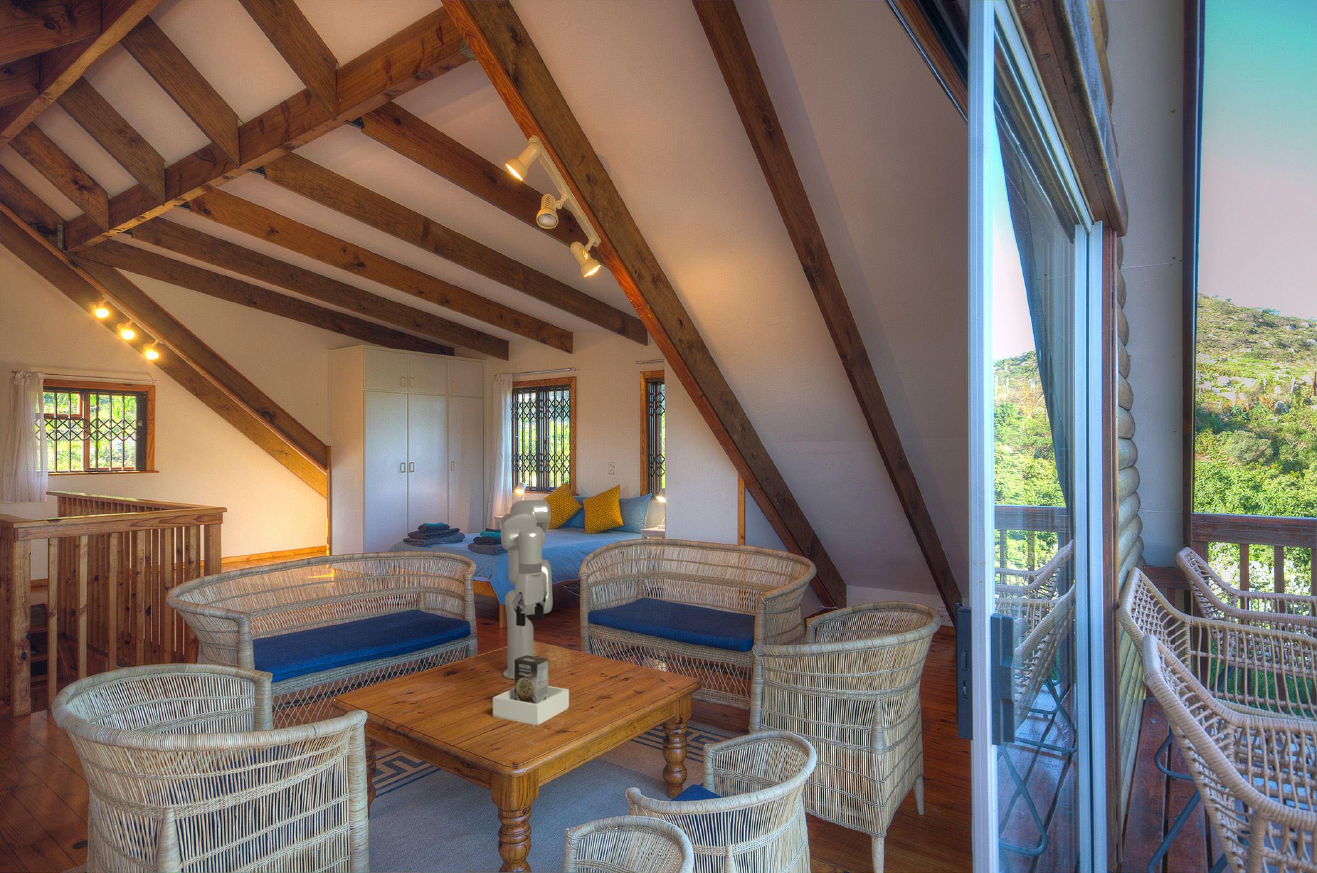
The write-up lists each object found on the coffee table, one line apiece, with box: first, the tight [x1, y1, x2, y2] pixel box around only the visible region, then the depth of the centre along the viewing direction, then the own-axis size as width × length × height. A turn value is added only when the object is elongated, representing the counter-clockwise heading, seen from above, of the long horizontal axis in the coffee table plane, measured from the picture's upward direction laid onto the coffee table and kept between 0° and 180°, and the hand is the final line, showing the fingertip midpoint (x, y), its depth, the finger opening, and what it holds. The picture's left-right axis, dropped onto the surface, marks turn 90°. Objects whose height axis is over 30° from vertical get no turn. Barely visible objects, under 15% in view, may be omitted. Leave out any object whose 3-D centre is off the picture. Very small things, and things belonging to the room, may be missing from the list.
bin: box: [492, 685, 570, 726], centre depth 234 cm, size 17×17×6 cm
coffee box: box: [514, 655, 549, 704], centre depth 235 cm, size 9×6×16 cm
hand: (530, 622), depth 236 cm, fingers open, 9 cm apart
